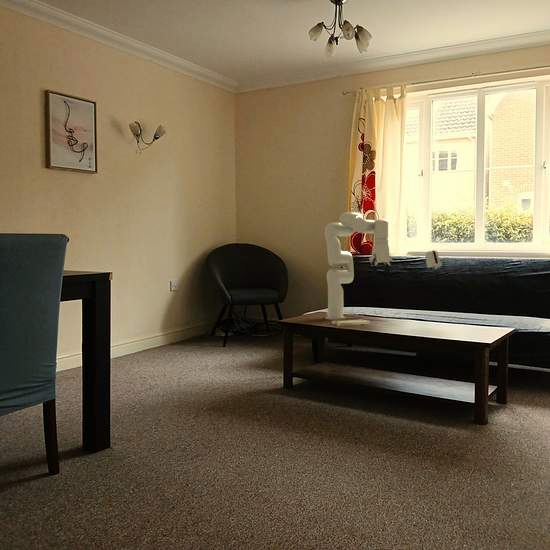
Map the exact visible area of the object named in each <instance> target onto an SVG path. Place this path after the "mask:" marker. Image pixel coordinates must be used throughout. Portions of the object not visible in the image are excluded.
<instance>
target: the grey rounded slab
mask: <svg viewBox="0 0 550 550" xmlns="http://www.w3.org/2000/svg"><path fill="white" fill-rule="evenodd" d="M425 263H426V267H427V269H429V268H433V267H434V269H438V268H440V267H441V266H443V262H442V261H441V260H440V257H439V253H438V251H437V250H434V249H433V250H429V251H427V252H426V253H425Z"/></svg>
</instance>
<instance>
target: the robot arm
mask: <svg viewBox="0 0 550 550" xmlns="http://www.w3.org/2000/svg"><path fill="white" fill-rule="evenodd" d="M338 219H339V222H338V221H337V222H330V223H328V224H326V226H325V228H324V238H325V242H326V248H327V249H326V251H327V262H328V265H329V266H331V267H334V268H330V269H328V271H327V272H326V281H327V312H326V313H325V314H326V315H327V316H325V319H326V320H331V321H332V319H333V318H347V317H346V316H344V288H343V285H342V284H350V283H352V282H353V280H354V277H355V274H354V273H355V272H354V271H355V269H354V259H353V258H354V257H353V255H352V253H351V252H349V251H348V250H347V251H346V250H342V244H341V241H340V240H339V238H338V237H351V236H352V235H354V233H359V234H373V235H374V237H373V244H372V249H371V256H370V257H369V258H368V259H369V263H370V265H371V267H372V268H371V273H372V274H378V266H377V265H378V264H379V263H381V264H382V263H383V264H384V274H390V266H391V264H392V262H393V257H392V256H391V254H390V247H389V222H388V220H387V219H375V220H374V219H364V216H363V215H362V214H361V213H360V212H354V211H353V212H351V211H345V212H342V213H341V214H340V216H339V218H338ZM335 267H337V268H335ZM339 267H342V268H339Z"/></svg>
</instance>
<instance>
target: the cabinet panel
mask: <svg viewBox="0 0 550 550" xmlns="http://www.w3.org/2000/svg"><path fill="white" fill-rule="evenodd" d="M331 322H332V325H334V326H337V327H339V326H340V327H347V326H348V327H349V326H350V325H351V326H361V324H364V325H371V324H372V323H371V320H366V319H362V316H356V317H355V316H353V317H352V316H351V317H346V318H333V319H332V320H331ZM351 326H350V327H351Z"/></svg>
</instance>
